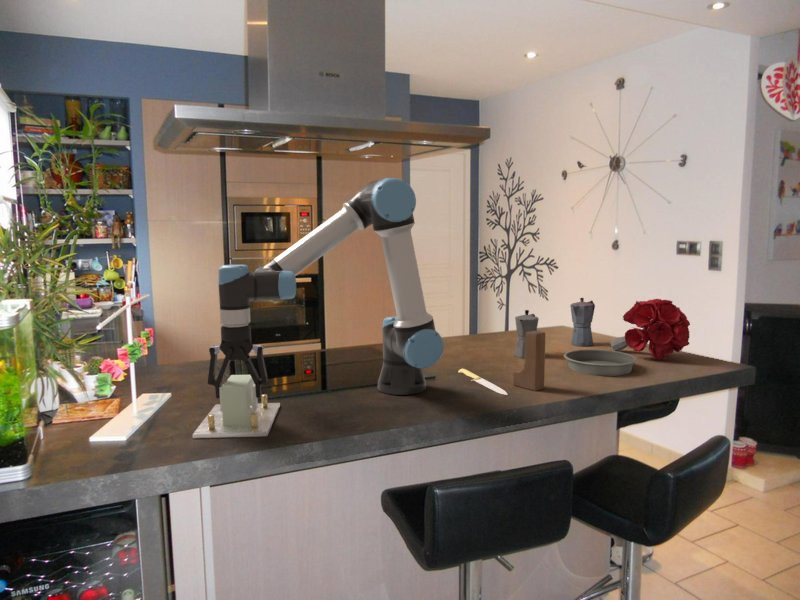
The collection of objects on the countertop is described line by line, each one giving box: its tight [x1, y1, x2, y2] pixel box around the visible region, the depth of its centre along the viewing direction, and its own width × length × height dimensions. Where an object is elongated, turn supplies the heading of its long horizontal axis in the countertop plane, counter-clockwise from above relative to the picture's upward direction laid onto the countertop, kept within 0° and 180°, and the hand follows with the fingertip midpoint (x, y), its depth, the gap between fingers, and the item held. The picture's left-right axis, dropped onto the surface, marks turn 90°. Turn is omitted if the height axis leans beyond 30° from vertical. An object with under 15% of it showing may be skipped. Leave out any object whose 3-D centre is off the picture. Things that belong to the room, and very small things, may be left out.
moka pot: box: [569, 297, 596, 347], centre depth 252 cm, size 10×15×20 cm, turn 133°
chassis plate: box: [192, 393, 281, 439], centre depth 158 cm, size 18×24×4 cm
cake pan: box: [563, 348, 638, 377], centre depth 212 cm, size 25×25×4 cm
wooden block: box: [512, 330, 546, 392], centre depth 188 cm, size 9×4×18 cm, turn 39°
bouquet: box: [610, 298, 691, 360], centre depth 229 cm, size 22×24×30 cm
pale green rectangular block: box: [221, 374, 255, 425], centre depth 157 cm, size 6×12×10 cm, turn 4°
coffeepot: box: [514, 309, 539, 359], centre depth 232 cm, size 15×9×18 cm, turn 149°
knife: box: [458, 368, 508, 396], centre depth 195 cm, size 1×32×5 cm
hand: (239, 409), depth 158 cm, fingers open, 8 cm apart
